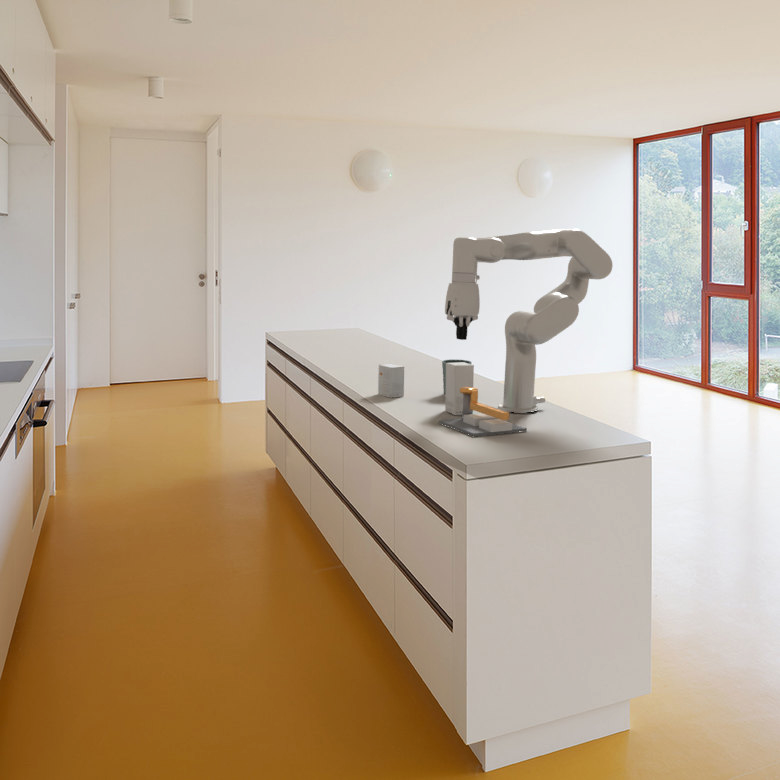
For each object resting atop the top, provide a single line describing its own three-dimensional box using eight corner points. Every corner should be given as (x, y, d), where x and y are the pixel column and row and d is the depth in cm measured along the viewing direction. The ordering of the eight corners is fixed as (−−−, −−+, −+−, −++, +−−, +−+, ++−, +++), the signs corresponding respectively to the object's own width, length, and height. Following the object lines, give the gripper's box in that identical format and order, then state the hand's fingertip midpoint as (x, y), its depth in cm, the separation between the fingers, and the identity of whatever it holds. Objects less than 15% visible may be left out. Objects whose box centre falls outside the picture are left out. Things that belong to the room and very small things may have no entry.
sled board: (489, 418, 235) (490, 391, 233) (527, 432, 219) (529, 402, 217) (438, 423, 226) (439, 394, 225) (474, 437, 210) (476, 406, 209)
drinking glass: (474, 394, 274) (475, 361, 272) (463, 399, 266) (464, 364, 263) (447, 391, 279) (449, 358, 277) (436, 395, 270) (437, 361, 268)
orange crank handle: (455, 406, 229) (456, 387, 228) (470, 404, 232) (471, 386, 231) (498, 420, 211) (499, 400, 210) (513, 419, 214) (514, 399, 213)
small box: (404, 396, 266) (405, 366, 264) (390, 398, 263) (391, 367, 261) (390, 393, 273) (391, 363, 271) (377, 394, 270) (378, 364, 268)
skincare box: (472, 415, 239) (475, 365, 236) (452, 416, 237) (455, 365, 235) (462, 409, 247) (465, 361, 244) (443, 410, 245) (445, 361, 242)
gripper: (477, 278, 242) (474, 337, 245) (436, 278, 235) (434, 338, 238) (491, 279, 235) (488, 340, 238) (450, 279, 228) (447, 341, 231)
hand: (461, 339), depth 238 cm, fingers closed
